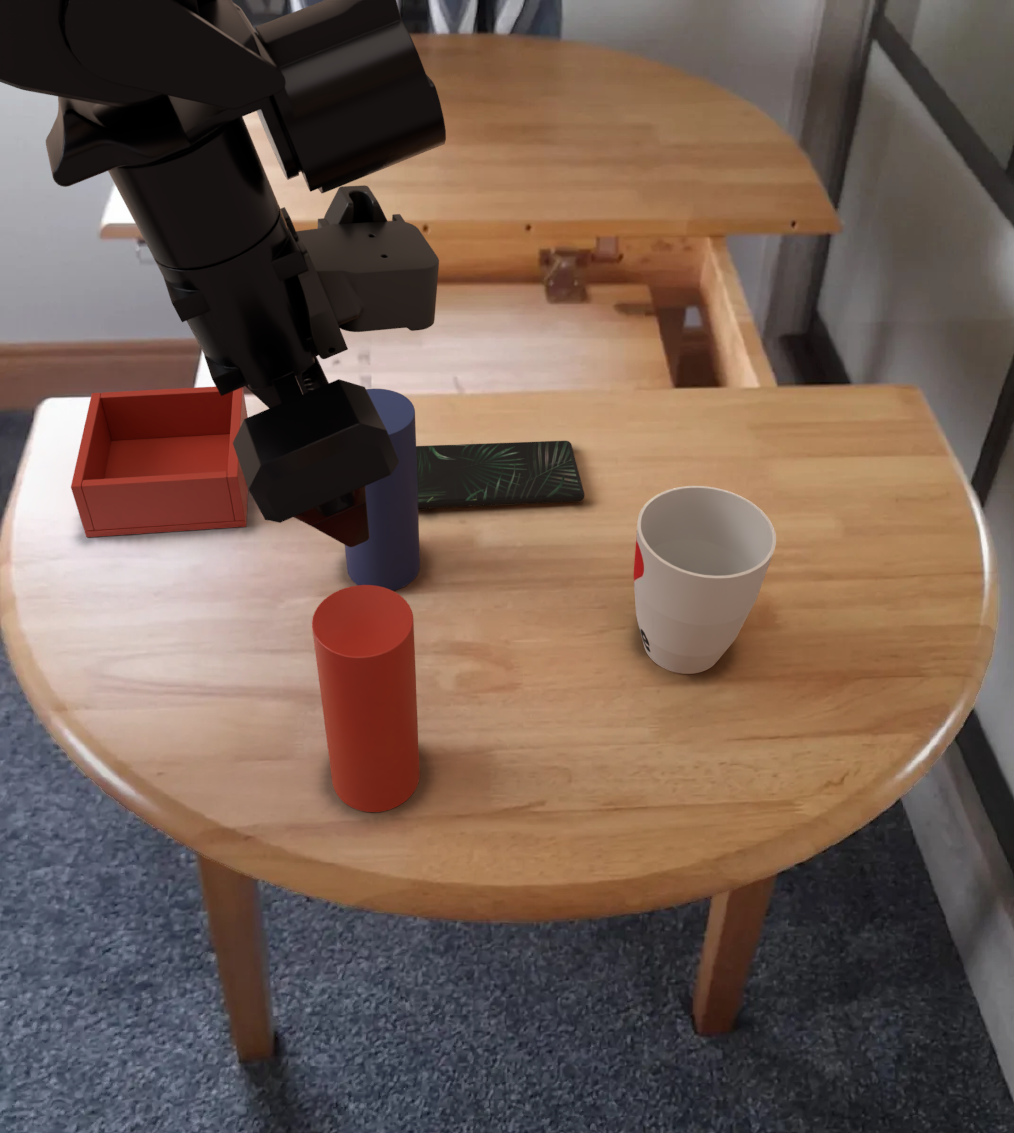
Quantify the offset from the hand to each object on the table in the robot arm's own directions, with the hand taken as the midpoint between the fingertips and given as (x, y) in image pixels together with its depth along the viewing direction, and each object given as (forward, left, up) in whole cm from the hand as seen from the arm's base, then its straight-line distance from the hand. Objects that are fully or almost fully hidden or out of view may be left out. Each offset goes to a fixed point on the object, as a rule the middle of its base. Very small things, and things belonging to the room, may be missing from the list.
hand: (335, 486), depth 59 cm
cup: (+19, +10, -16) cm, 26 cm away
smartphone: (+1, +21, -16) cm, 26 cm away
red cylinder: (+4, -6, -16) cm, 17 cm away
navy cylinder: (-2, +10, -16) cm, 19 cm away
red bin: (-20, +13, -16) cm, 29 cm away
